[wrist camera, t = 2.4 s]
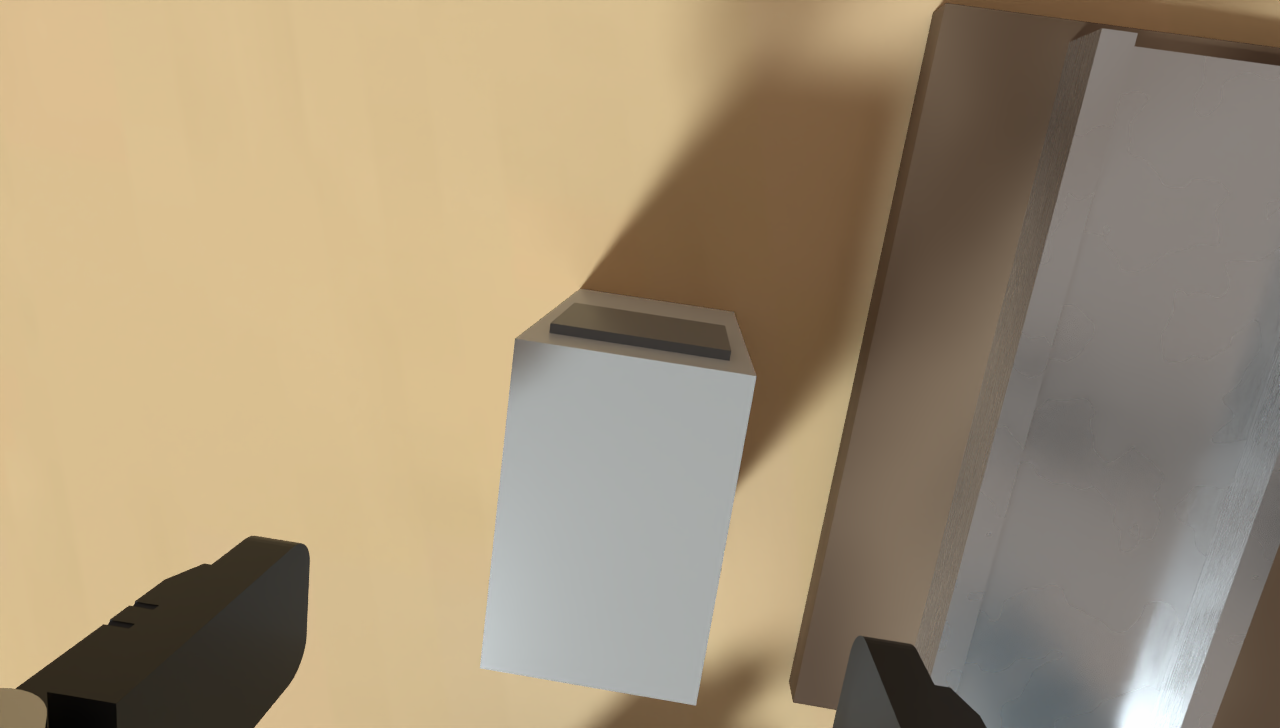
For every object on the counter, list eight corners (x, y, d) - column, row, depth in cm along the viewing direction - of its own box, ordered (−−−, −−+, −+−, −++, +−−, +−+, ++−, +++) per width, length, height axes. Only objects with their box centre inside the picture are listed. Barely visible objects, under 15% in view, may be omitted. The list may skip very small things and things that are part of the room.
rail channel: (1390, 85, 18) (1452, 75, 16) (1156, 750, 22) (1189, 789, 21) (1069, 41, 18) (1101, 28, 17) (899, 706, 22) (913, 741, 21)
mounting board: (1490, 88, 19) (1534, 81, 18) (1234, 758, 23) (1258, 782, 22) (933, 12, 19) (945, 2, 18) (789, 681, 24) (793, 702, 23)
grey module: (735, 304, 21) (758, 365, 13) (695, 533, 23) (695, 705, 15) (581, 281, 21) (515, 327, 14) (552, 509, 23) (480, 668, 15)
